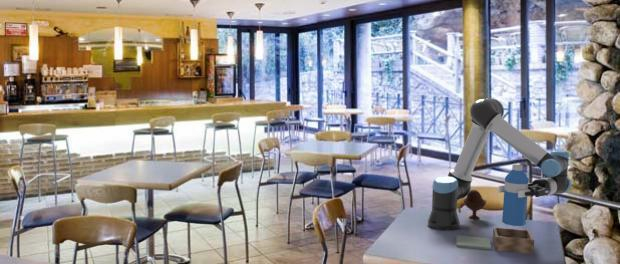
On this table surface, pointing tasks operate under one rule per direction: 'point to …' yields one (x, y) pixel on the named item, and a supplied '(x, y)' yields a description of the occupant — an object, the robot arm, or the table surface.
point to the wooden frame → (513, 240)
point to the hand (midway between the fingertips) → (508, 191)
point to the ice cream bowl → (474, 203)
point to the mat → (473, 242)
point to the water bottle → (515, 197)
